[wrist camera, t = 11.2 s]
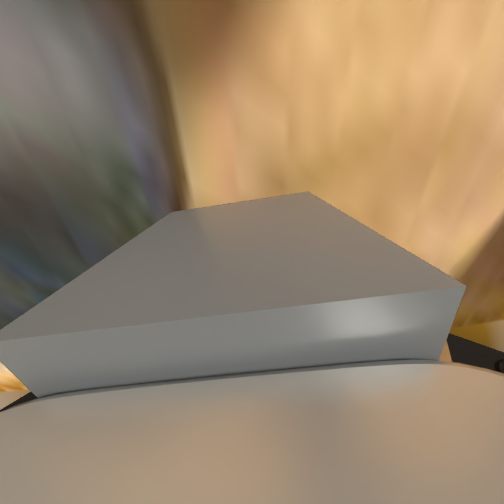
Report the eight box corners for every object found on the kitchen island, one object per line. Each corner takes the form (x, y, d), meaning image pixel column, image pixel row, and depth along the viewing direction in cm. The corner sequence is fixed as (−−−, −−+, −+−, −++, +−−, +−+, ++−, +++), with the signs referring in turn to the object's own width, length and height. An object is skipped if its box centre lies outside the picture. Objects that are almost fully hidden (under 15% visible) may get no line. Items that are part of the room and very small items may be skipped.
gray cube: (308, 191, 11) (466, 285, 3) (311, 302, 14) (389, 491, 6) (171, 212, 11) (-20, 343, 3) (204, 315, 15) (149, 506, 7)
